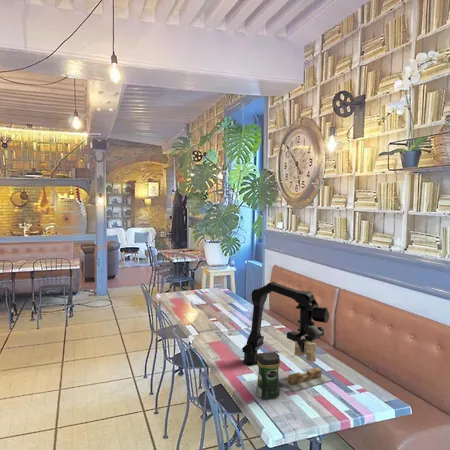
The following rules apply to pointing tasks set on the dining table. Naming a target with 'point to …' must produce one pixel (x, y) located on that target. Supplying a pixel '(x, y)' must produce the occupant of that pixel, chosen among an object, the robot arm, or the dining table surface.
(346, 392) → the dining table surface
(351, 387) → the dining table surface
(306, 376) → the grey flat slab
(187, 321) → the dining table surface
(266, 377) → the coffee jar
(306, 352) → the birch plate
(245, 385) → the dining table surface
